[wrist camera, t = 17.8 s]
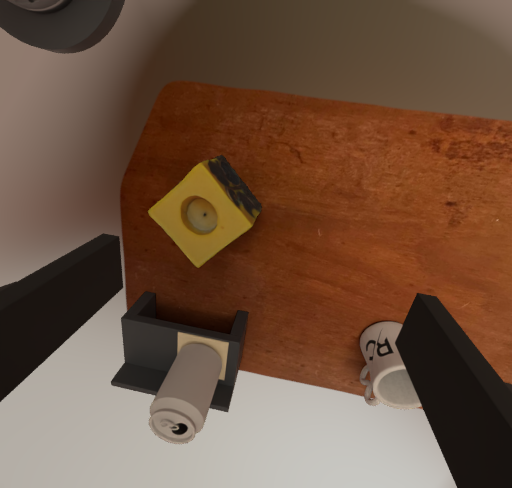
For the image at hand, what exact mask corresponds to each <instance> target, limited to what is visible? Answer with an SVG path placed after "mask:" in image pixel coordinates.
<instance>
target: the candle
mask: <svg viewBox="0 0 512 488" xmlns="http://www.w3.org/2000/svg"><path fill="white" fill-rule="evenodd" d="M261 208H262V206H261V203H259V202H258V200H257V199H256V198H255V196H254V195H253V194H252V193H251V191H250V190H249V189H248V187H247V186H246V184H245V183H244V182H243V181H242V180H241V179H240V177H239V176H238V175H237V173H236V172H235V170H234V169H233V168H231V166H230V164H229V163H228V162H227V160H226V158H225V157H223V156H222V155H220V156H217V157H216V158H214V159H211V160H206V161H203V162H201V163H199V164H198V165H197V166H195V167H194V168H193V169H192V170H191V171H190V172H189V173H188V175H187V176H186V177H185V178H184V179H183V180H182V181H181V182H179V183H178V185H177V186H175V187H174V188H173V189H172V190H171V191H170V192H169V193H168V194H167V195H166V196H165V197H164V198H163V199H161V200H160V201H159V202H157V203H156V204H155V205H154V206H153V207H152V208H150V210H149V211H148V213H149V215H150V217H151V218H153V219H154V220H155V221H156V222H157V223H158V224H159V225H160V226H161V227H162V228H163V229H164V230H165V232H166V233H167V234H168V235H169V236H170V237H171V238H172V239H173V241H174V242H175V243H176V244H177V245H178V246H179V247H180V249H181V250H182V251H183V252H184V254H185V255H186V256H187V257H188V258H189V259H190V261H191V262H192V263H193V264H194V265H195V266H196V267H197V268H199V267H200V266H201V265H203V264H204V263H205V262H206V261H208V260H209V259H210V258H211V257H213V256H214V255H215V254H216V253H217V252H219V251H220V250H221V249H223V248H224V247H225V246H227V245H228V244H229V243H231V242H232V241H233V240H235V239H236V238H237V237H239V236H240V235H241V234H243V233H245V232H246V231H247V230H249V229H250V228H251V227H252V226H253V224H254V221H255V219H256V218H257V216H258V214H259V213H260V212H261V211H262V210H261Z"/></svg>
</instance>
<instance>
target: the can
mask: <svg viewBox="0 0 512 488" xmlns="http://www.w3.org/2000/svg"><path fill="white" fill-rule="evenodd" d="M221 369H222V361H221V358H220V357H219V355H218V354H217V353H216V352H215V351H214V350H213V349H212V348H211V347H209V346H207V345H203V344H190V345H186V346H184V347H183V348H182V349H181V350H180V351H179V353H178V355H177V357H176V359H175V361H174V363H173V364H172V366H171V368H170V370H169V372H168V374H167V376H166V378H165V380H164V382H163V383H162V385H161V387H160V389H159V391H158V393H157V395H156V397H155V399H154V401H153V402H152V404H151V406H150V415H151V417H150V419H149V425H150V428H151V430H152V431H153V432H154V434H155V435H157V436H158V437H159V438H161V439H163V440H165V441H167V442H170V443H174V444H184V443H188V442H190V441H192V440H193V438H194V437H195V434H196V433H198V432H200V431H201V429H202V428H203V425H204V422H205V420H206V416H207V413H208V410H209V407H210V404H211V401H212V398H213V394H214V391H215V388H216V385H217V382H218V379H219V376H220V372H221Z"/></svg>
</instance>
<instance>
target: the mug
mask: <svg viewBox="0 0 512 488" xmlns="http://www.w3.org/2000/svg"><path fill="white" fill-rule="evenodd" d="M402 326H403V325H402V324H400V323H397V322H380V323H376V324H374V325H372V326H370V327H369V328H367V329H366V330H365V331H364V332H363V334H362V336H361V338H360V348H361V351H362V353H363V356H364V358H365V360H366V362H367V365H366V366H364V368H363V369H362V371H361V374H360V382H361V384H363V385H367V387H366V390H365V396H364V398H365V401H366V403H367V404H369V405H372V406H376V405H378V404H379V403H380V402H382V403H383V404H385V405H387V406H389V407H393V408H397V409H413V408H417V407H420V406H422V405H421V403H420V400H419V398H418V396H417V393H416V391H415V389H414V387H413V384H412V382H411V380H410V377H409V375H408V373H407V370H406V368H405V366H404V363H403V361H402V359H401V356H400V354H399V352H398V350H397V347H396V345H395V341H396V339H397V337H398V334H399V332H400V330H401V328H402ZM368 371H369V372H370V377H371V381H369V380H365V377H366V374H367V372H368ZM372 390H373V393H374V395H375V398H374V399H370V396H371V392H372Z"/></svg>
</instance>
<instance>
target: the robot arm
mask: <svg viewBox="0 0 512 488" xmlns="http://www.w3.org/2000/svg"><path fill="white" fill-rule="evenodd" d="M7 1H9V2H11V3H13V4H14V5H17V6H19V7H21V8H24V9H26V10H28V11H31V12H35V13H41V14H47V13H53V12H57V11H59V10H61V9H63V8H65V7H66V6H67V5H68V4H69V3H70V2H71V1H72V0H7ZM122 288H123V281H122V267H121V255H120V241H119V236H114V235H108V234H102V235H100V236H98V237H97V238H94V239H93V240H91V241H89V242H87V243H85V244H84V245H82V246H80V247H78V248H77V249H75V250H73V251H71V252H70V253H68V254H66V255H64V256H62V257H61V258H59V259H57V260H55V261H53V262H52V263H50V264H48V265H47V266H45V267H43V268H41V269H39V270H37V271H36V272H34V273H32V274H30V275H28V276H27V277H25V278H23V279H21V280H20V281H18V282H14V283H11V284H8V285H5V286H2V287H0V402H1V401H2V400H3V399H4V398H5V397H6V396H7V395H8V394H9V393H10V392H11V391H13V390H14V389H15V388H16V387H17V386H18V385H19V384H20V383H21V382H22V381H23V380H24V379H25V378H26V377H28V376H29V375H30V374H31V373H32V372H33V371H34V370H35V369H36V368H37V367H38V366H39V365H40V364H42V363H43V362H44V361H45V360H46V359H47V358H48V357H49V356H50V355H51V354H52V353H53V352H54V351H56V350H57V349H58V348H59V347H60V346H61V345H62V344H63V343H64V342H65V341H66V340H67V339H68V338H69V337H70V336H72V335H73V334H74V333H75V332H76V331H77V330H78V329H79V328H80V327H81V326H82V325H83V324H84V323H86V322H87V321H88V320H89V319H90V318H91V317H92V316H93V315H94V314H95V313H96V312H97V311H98V310H100V309H101V308H102V307H103V306H104V305H105V304H106V303H107V302H108V301H109V300H110V299H111V298H112V297H114V296H115V295H116V293H118V292H119V291H120V290H121V289H122ZM395 345H396V347H397V350H398V352H399V354H400V356H401V359H402V361H403V363H404V366H405V368H406V370H407V373H408V375H409V377H410V380H411V382H412V384H413V387H414V389H415V391H416V393H417V396H418V398H419V400H420V403H421V405H422V407H423V410H424V412H425V414H426V416H427V419H428V421H429V424H430V426H431V428H432V430H433V433H434V435H435V437H436V439H437V442H438V444H439V446H440V449H441V451H442V454H443V456H444V458H445V460H446V463H447V465H448V467H449V470H450V472H451V474H452V476H453V479H454V481H455V483H456V486H457V488H512V384H509V383H505V382H503V380H502V379H501V378H500V377H499V375H498V374H497V373H496V372H495V370H494V369H493V368H492V367H491V365H490V364H489V363H488V361H487V360H486V359H485V358H484V356H483V355H482V354H481V353H480V351H479V350H478V349H477V348H476V346H475V345H474V344H473V342H472V341H471V340H470V339H469V337H468V336H467V335H466V334H465V332H464V331H463V330H462V328H461V327H460V326H459V325H458V323H457V322H456V321H455V320H454V318H453V317H452V316H451V315H450V313H449V312H448V311H447V309H446V308H445V307H444V306H443V304H442V303H441V302H440V301H439V299H438V298H437V297H436V296H431V295H425V294H420V293H417V295H416V297H415V299H414V301H413V304H412V306H411V308H410V310H409V312H408V315H407V317H406V319H405V321H404V323H403V326H402V328H401V330H400V332H399V334H398V337H397V339H396V341H395Z"/></svg>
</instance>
